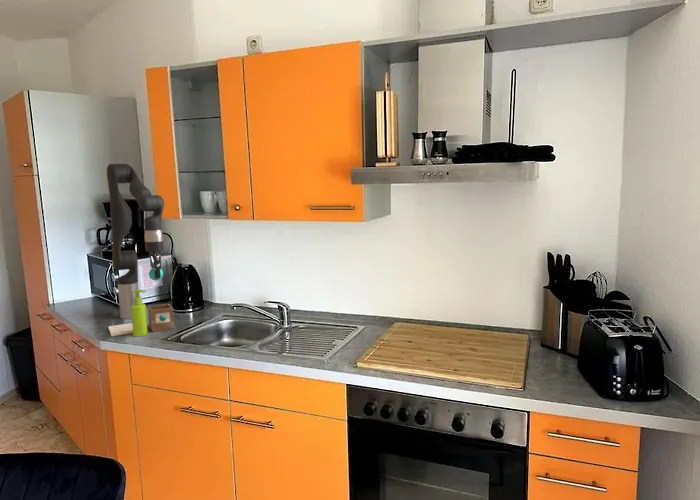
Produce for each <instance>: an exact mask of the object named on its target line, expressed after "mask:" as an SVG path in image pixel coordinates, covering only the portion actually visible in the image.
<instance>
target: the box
mask: <svg viewBox="0 0 700 500" xmlns="http://www.w3.org/2000/svg"><path fill="white" fill-rule="evenodd" d="M147 311H148V328H149V329H150V331H151V332H152V333H158V332H159V333H160V332H164V331H165V332H166V331H171V330H174V329H175V322H174V321H175V318H174V307H173V306H172V305H171V304H170V303H164V304H163V303H162V304H156V305H148V306H147Z"/></svg>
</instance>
